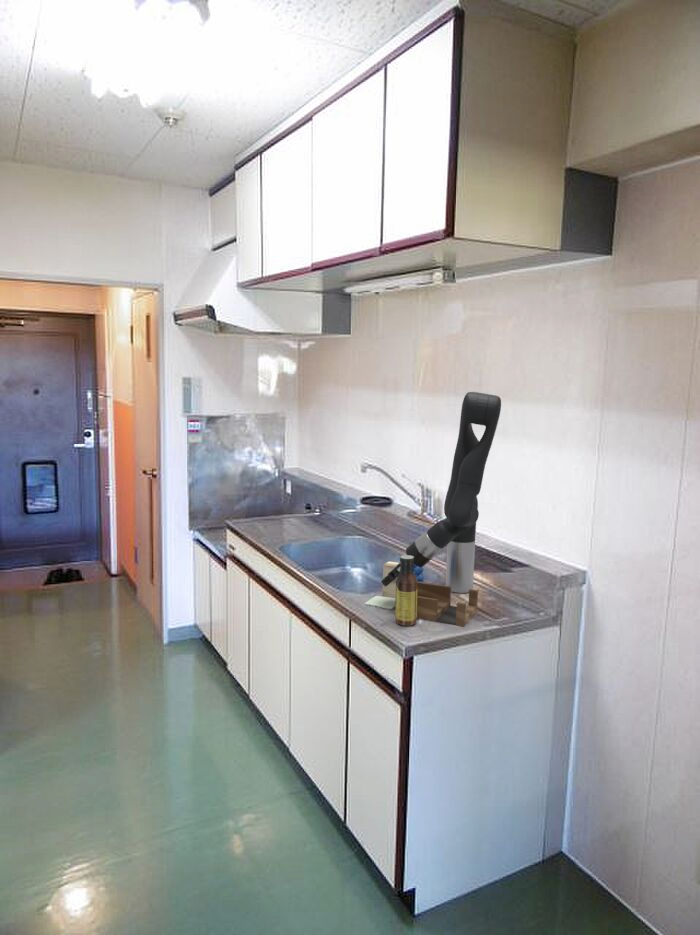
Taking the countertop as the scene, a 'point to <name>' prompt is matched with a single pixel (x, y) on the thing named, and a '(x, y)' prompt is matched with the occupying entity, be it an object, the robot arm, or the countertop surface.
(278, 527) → the countertop surface
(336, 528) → the countertop surface
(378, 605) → the mat
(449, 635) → the countertop surface
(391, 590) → the block
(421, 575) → the grapes
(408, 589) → the sauce bottle
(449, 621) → the wooden holder
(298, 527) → the countertop surface
